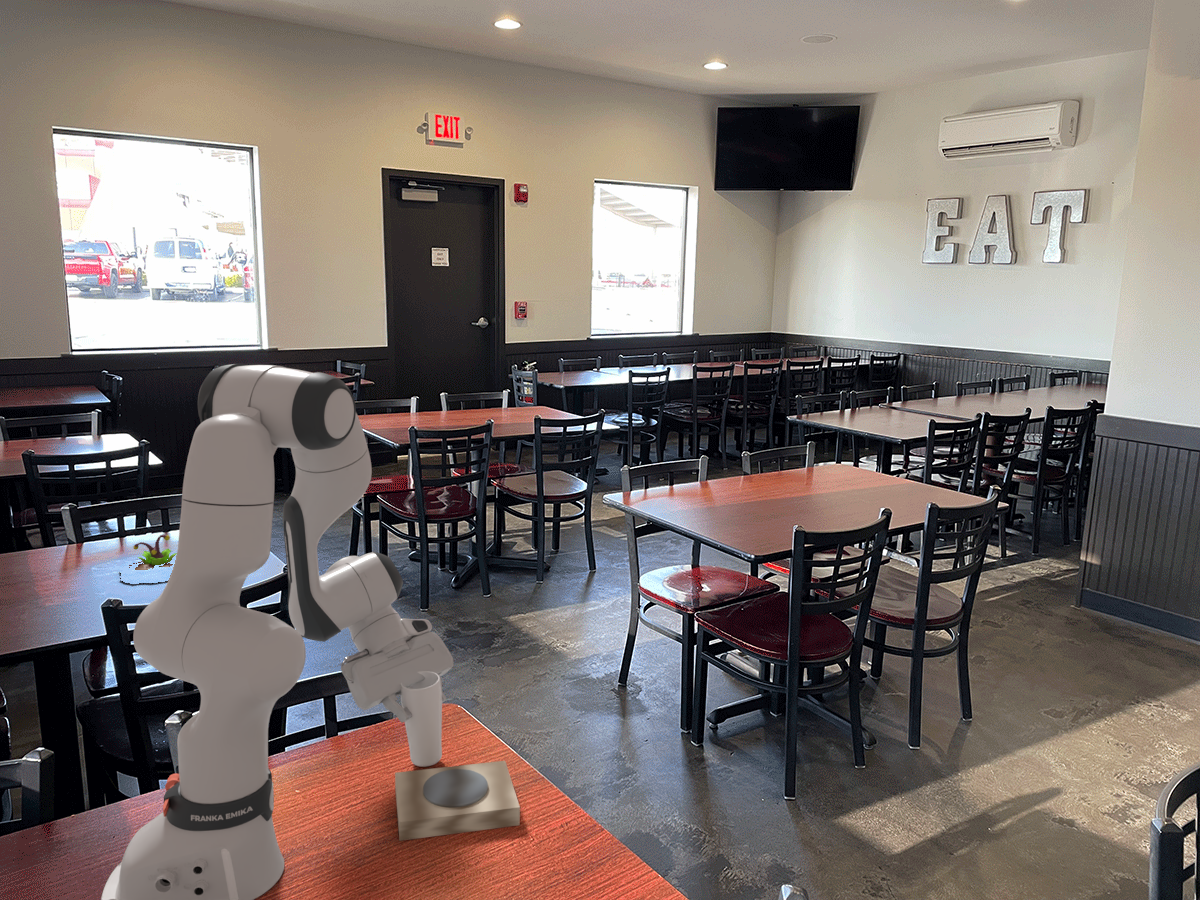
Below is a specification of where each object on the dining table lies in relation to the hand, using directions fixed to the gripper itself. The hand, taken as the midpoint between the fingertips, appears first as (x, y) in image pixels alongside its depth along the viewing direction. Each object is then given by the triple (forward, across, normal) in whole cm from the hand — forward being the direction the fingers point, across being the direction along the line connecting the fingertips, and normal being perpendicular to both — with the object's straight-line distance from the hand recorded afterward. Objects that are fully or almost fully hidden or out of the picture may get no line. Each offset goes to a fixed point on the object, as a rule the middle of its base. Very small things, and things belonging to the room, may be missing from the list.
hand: (424, 711), depth 149 cm
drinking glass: (+6, +1, +7) cm, 10 cm away
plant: (-87, +29, +101) cm, 136 cm away
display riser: (+16, -6, -2) cm, 17 cm away
